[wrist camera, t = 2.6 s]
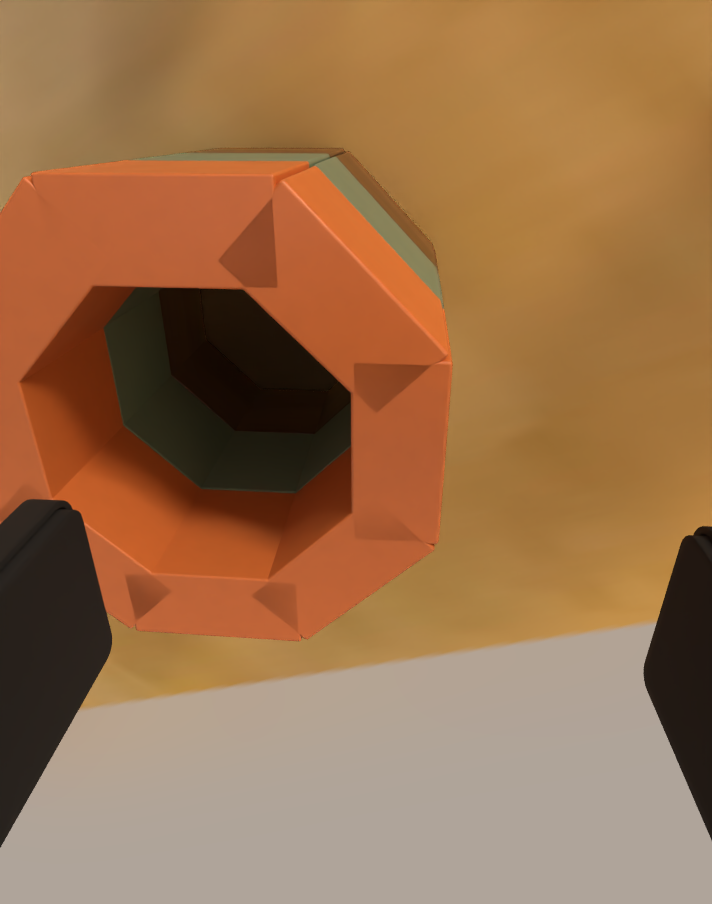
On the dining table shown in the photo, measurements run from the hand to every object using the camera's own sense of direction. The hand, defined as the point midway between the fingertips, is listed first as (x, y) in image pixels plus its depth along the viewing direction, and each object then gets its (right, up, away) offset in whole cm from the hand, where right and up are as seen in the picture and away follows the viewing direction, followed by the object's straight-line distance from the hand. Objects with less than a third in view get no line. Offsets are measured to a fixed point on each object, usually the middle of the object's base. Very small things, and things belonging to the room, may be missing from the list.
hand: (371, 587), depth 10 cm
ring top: (-4, +4, +7) cm, 9 cm away
